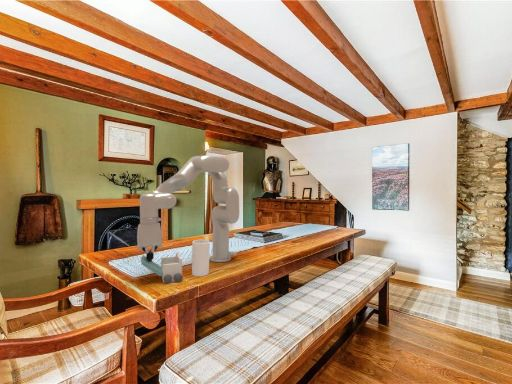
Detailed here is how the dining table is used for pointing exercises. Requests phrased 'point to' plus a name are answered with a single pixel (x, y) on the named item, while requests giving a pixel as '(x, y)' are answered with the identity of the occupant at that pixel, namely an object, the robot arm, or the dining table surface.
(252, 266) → the dining table surface
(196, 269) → the cup
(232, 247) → the dining table surface
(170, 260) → the cart
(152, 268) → the tailgate
